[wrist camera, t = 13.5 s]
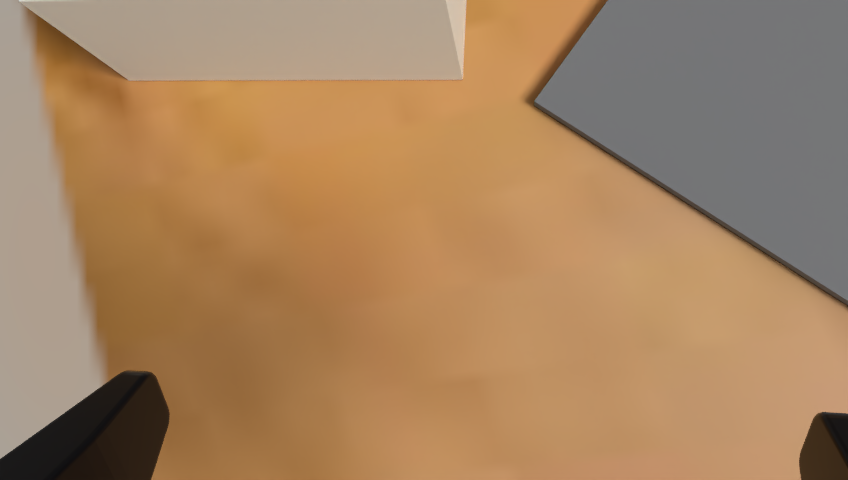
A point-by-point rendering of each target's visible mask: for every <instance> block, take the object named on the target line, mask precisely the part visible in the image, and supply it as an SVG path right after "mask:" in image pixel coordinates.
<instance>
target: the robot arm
mask: <svg viewBox="0 0 848 480" xmlns="http://www.w3.org/2000/svg"><path fill="white" fill-rule="evenodd" d="M168 424H169V409H168V406H167V403H166V401H165V398H164V396H163V393H162V391H161V388H160V386H159V383H158V380H157V378H156V376H155V375H154V374H153V373H151V372H148V371H124V372H122V373H120V374H118V375H117V376H116V377H114V378H113V379H111V380H110V381H109V382H107V383H106V384H104V385H103V386H102V387H100V388H99V389H97V390H96V391H95V392H93V393H92V394H91V395H89V396H88V397H86V398H85V399H83V400H82V401H81V402H79V403H78V404H76V405H75V406H74V407H72V408H71V409H69V410H68V411H67V412H65V413H64V414H63V415H61V416H60V417H58V418H57V419H56V420H54V421H53V422H51V423H50V424H49V425H47V426H46V427H45V428H43V429H42V430H40V431H39V432H37V433H36V434H35V435H33V436H32V437H30V438H29V439H28V440H26V441H25V442H24V443H22V444H21V445H19V446H18V447H16V448H15V449H14V450H13V451H11V452H9V453H8V454H7V455H5V456H4V457H2V458H1V459H0V480H151V478H152V475H153V472H154V469H155V466H156V463H157V459H158V456H159V453H160V450H161V447H162V444H163V441H164V438H165V434H166V431H167V428H168ZM799 467H800V474H801V480H848V414H846V413H829V412H821V413H818V414H817V415H816V416H815V417H814V419H813V421H812V423H811V426H810V429H809V431H808V434H807V436H806V439H805V442H804V444H803V447H802V450H801V453H800V458H799Z"/></svg>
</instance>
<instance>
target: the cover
mask: <svg viewBox="0 0 848 480" xmlns="http://www.w3.org/2000/svg"><path fill="white" fill-rule="evenodd" d="M19 2H20V3H21V4H23V5H24V6H25V7H27V8H28V9H30V10H31V11H32V12H34V13H35V14H37V15H38V16H39V17H41V18H42V19H44V20H45V21H46V22H48V23H49V24H51V25H52V26H53V27H55V28H56V29H58V30H59V31H60V32H62V33H63V34H65V35H66V36H67V37H69V38H70V39H72V40H73V41H74V42H76V43H77V44H79V45H80V46H81V47H83V48H84V49H86V50H87V51H88V52H90V53H91V54H93V55H94V56H95V57H97V58H98V59H100V60H101V61H102V62H104V63H105V64H107V65H108V66H109V67H111V68H112V69H114V70H115V71H116V72H118V73H119V74H121V75H122V76H123V77H125V78H126V79H128V80H129V81H181V80H463V64H464V43H465V21H466V0H19Z"/></svg>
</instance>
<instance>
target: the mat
mask: <svg viewBox="0 0 848 480" xmlns="http://www.w3.org/2000/svg"><path fill="white" fill-rule="evenodd" d="M534 106H536V107H537V108H539V109H540V110H542V111H544V112H545V113H547V114H548V115H550V116H551V117H553V118H554V119H556V120H558V121H559V122H561V123H562V124H564V125H565V126H567V127H569V128H570V129H572V130H573V131H575V132H576V133H578V134H580V135H581V136H583V137H584V138H586V139H587V140H589V141H591V142H592V143H594V144H595V145H597V146H598V147H600V148H602V149H603V150H605V151H606V152H608V153H609V154H611V155H613V156H614V157H616V158H617V159H619V160H620V161H622V162H624V163H625V164H627V165H628V166H630V167H631V168H633V169H634V170H636V171H638V172H639V173H641V174H642V175H644V176H645V177H647V178H649V179H650V180H652V181H653V182H655V183H656V184H658V185H660V186H661V187H663V188H664V189H666V190H667V191H669V192H671V193H672V194H674V195H675V196H677V197H678V198H680V199H682V200H683V201H685V202H686V203H688V204H689V205H691V206H693V207H694V208H696V209H697V210H699V211H700V212H702V213H703V214H705V215H707V216H708V217H710V218H711V219H713V220H714V221H716V222H718V223H719V224H721V225H722V226H724V227H725V228H727V229H729V230H730V231H732V232H733V233H735V234H736V235H738V236H740V237H741V238H743V239H744V240H746V241H747V242H749V243H751V244H752V245H754V246H755V247H757V248H758V249H760V250H762V251H763V252H765V253H766V254H768V255H769V256H771V257H773V258H774V259H776V260H777V261H779V262H780V263H782V264H783V265H785V266H787V267H788V268H790V269H791V270H793V271H794V272H796V273H798V274H799V275H801V276H802V277H804V278H805V279H807V280H809V281H810V282H812V283H813V284H815V285H816V286H818V287H820V288H821V289H823V290H824V291H826V292H827V293H829V294H831V295H832V296H834V297H835V298H837V299H838V300H840V301H842V302H843V303H845V304H846V305H848V0H608V1H607V2H606V4H605V5H604V6H603V8H602V9H601V10H600V12H599V13H598V15H597V16H596V17H595V19H594V20H593V21H592V23H591V24H590V25H589V27H588V28H587V30H586V31H585V32H584V34H583V35H582V36H581V38H580V39H579V41H578V42H577V43H576V45H575V46H574V47H573V49H572V50H571V51H570V53H569V54H568V56H567V57H566V58H565V60H564V61H563V62H562V64H561V65H560V67H559V68H558V69H557V71H556V72H555V73H554V75H553V76H552V77H551V79H550V80H549V82H548V83H547V84H546V86H545V87H544V88H543V90H542V91H541V93H540V94H539V95H538V97H537V98H536V99H535V101H534Z"/></svg>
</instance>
